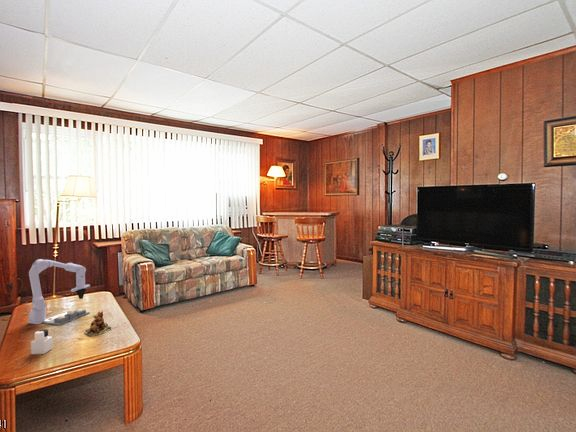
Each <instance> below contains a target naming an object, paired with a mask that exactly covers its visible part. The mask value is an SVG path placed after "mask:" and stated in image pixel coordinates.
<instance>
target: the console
mask: <svg viewBox="0 0 576 432" xmlns="http://www.w3.org/2000/svg"><path fill="white" fill-rule="evenodd" d="M73 310H74V309H73ZM62 315H64V316H65V318H62V319H58V316H62ZM86 315H90V312H89V311H87V310H86V309H83V311H81V312H76V310H74V314H73V315H67V311H63V312H62V313H59V314H55V315H53V316H50V317H46V320H44V321H43V322H42V323H41V324H44V325H53V326H61V325H64V324H66V323H69V322H72V321H74V320H76V319H79V318H82V317H84V316H86Z"/></svg>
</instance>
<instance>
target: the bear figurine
mask: <svg viewBox="0 0 576 432" xmlns="http://www.w3.org/2000/svg"><path fill="white" fill-rule="evenodd" d="M103 317H104V311H98V312H97V313H96V314H94V316H93V318H94V319H93V320H92V321H91V323H90V326H89V328H87V329H85V330H84V333H85V334H86V335H88V336H89V337H93V336H97V335H98V336H99V335H101V334H104V333H107V332H110V330H112V329H113V327H112V326H111V325H109V324H108V323H107V322H105V320H104V318H103Z"/></svg>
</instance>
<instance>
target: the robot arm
mask: <svg viewBox="0 0 576 432" xmlns="http://www.w3.org/2000/svg"><path fill="white" fill-rule="evenodd" d="M30 267H31V268H30V269H29V271H28V277H29V282H30V288H31V291H32V298H31V299H32V302H31V307H32V309H31V310H30V311H29V314H28V322H27V324H30V325H31V324H32V325H41V324H43V323H42V322H43V321H44V320H46V319H47V313H46V312H47V310H46V309H47V302H46V301H45V300H44V297H43V292H42V287H41V283H40V276H39V274H41V273H42V271H44V270H47V269H48V268H51V267H57V268H61V269H64V270H65V271H66V272H67V271H68V272H72V273H75V281H76V282H75V285H76V286H75V287H74V288H71V289H70V292H71V293H74V292H76V294H77V296H78V299H80V300H83V299H84V295H85V293H86V291H87V288H90V287H91V284H86V272H87V268H86V267H85V266H84V265H80V264H76V263H73V262H67V263H63V262H59V261H55V260H51V259H43V258H38V259H36V260H35V261H34V262H33V263H32V265H31V266H30Z"/></svg>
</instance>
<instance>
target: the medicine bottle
mask: <svg viewBox="0 0 576 432" xmlns="http://www.w3.org/2000/svg"><path fill="white" fill-rule="evenodd" d="M52 349H53V336H49V329H45V328H43V329H39V330H37V331H36V330H35V332H34V339H33V340H31V341H30V354H31V355H45V354H47V352H49V351H50V350H52Z"/></svg>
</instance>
